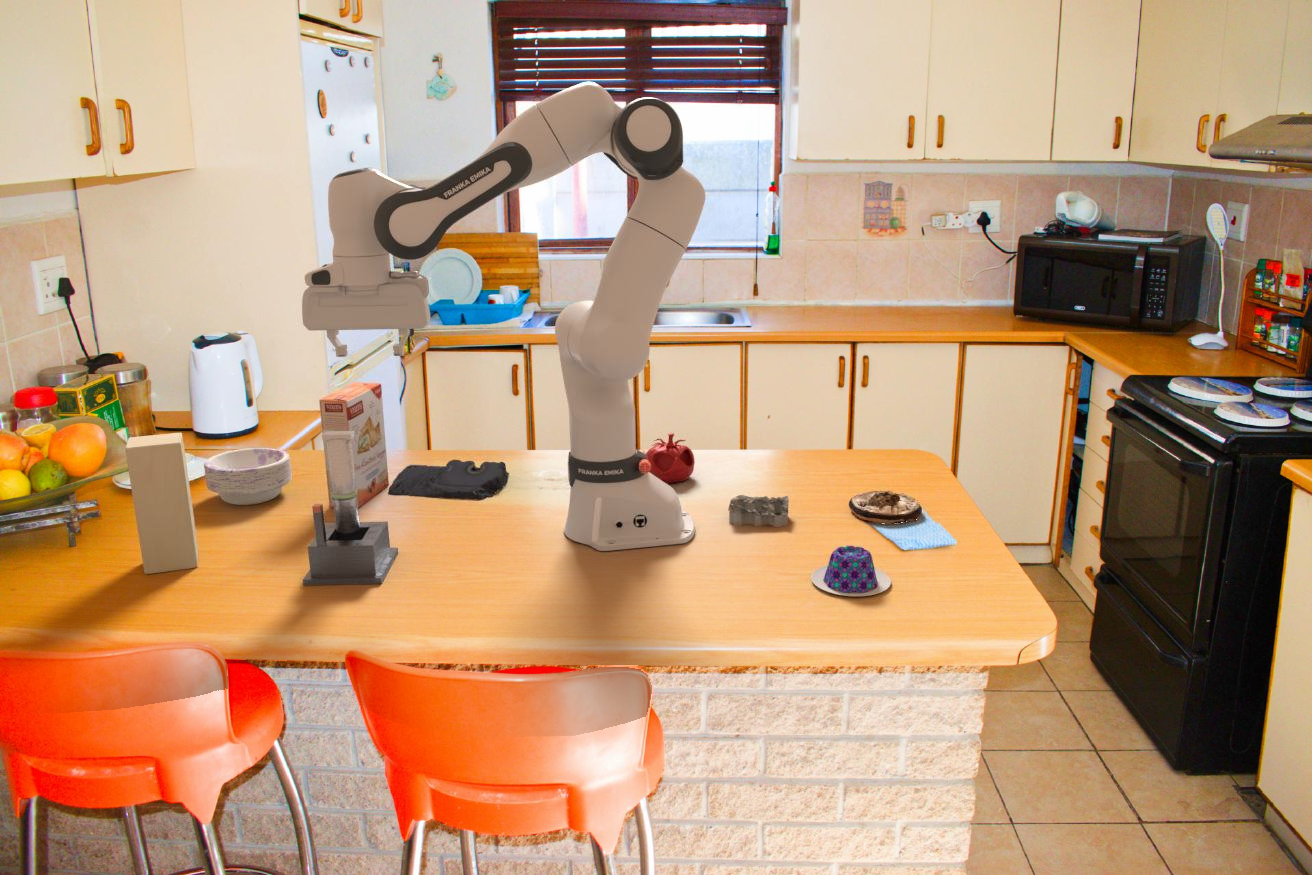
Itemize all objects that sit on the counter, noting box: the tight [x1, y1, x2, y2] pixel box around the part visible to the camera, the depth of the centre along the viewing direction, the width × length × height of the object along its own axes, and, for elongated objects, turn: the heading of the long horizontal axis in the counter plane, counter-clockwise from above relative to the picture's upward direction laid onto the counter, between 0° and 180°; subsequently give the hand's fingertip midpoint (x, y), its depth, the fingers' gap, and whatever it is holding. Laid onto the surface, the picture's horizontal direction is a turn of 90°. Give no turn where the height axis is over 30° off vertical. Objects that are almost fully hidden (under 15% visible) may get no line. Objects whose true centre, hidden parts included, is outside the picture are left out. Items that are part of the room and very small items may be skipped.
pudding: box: [810, 545, 892, 597], centre depth 159 cm, size 12×12×5 cm
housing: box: [302, 503, 399, 586], centre depth 165 cm, size 12×12×12 cm
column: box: [321, 431, 361, 533], centre depth 162 cm, size 4×4×16 cm
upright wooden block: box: [125, 432, 200, 575], centre depth 167 cm, size 8×7×21 cm
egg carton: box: [727, 494, 790, 528], centre depth 185 cm, size 11×8×4 cm
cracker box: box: [318, 381, 390, 508], centre depth 196 cm, size 14×6×21 cm, turn 168°
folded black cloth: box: [387, 459, 510, 501], centre depth 204 cm, size 15×22×5 cm
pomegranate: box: [645, 432, 696, 484], centre depth 206 cm, size 10×10×9 cm
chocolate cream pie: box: [848, 490, 923, 524], centre depth 187 cm, size 15×15×4 cm
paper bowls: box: [203, 447, 293, 506], centre depth 199 cm, size 15×15×8 cm
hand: (370, 355), depth 173 cm, fingers open, 8 cm apart
